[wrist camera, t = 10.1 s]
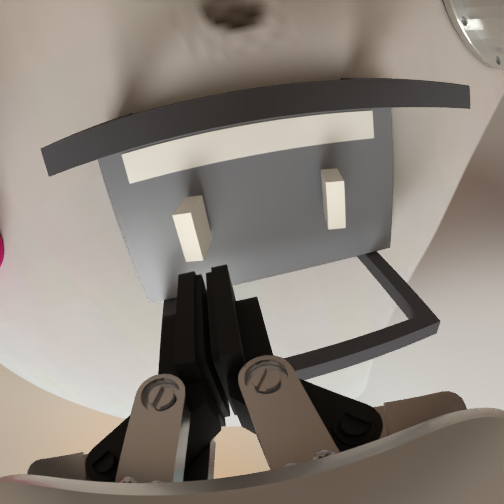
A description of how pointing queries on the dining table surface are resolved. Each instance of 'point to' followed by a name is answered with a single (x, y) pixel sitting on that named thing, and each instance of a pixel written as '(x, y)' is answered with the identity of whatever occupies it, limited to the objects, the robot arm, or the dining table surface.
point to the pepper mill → (1, 251)
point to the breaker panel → (255, 195)
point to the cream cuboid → (333, 198)
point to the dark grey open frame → (270, 106)
